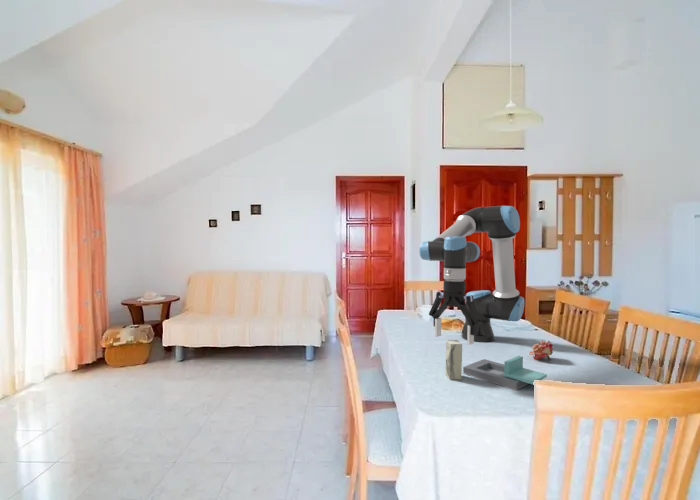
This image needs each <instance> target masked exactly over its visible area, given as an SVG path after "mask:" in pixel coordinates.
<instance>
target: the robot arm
mask: <svg viewBox="0 0 700 500" xmlns="http://www.w3.org/2000/svg"><path fill="white" fill-rule="evenodd" d="M520 228H521V220H520V215H519V212H518V210H517V209H516V207H514V206H512V205H496V206H493V205H492V206H479V207H474V208H472V209H470V210H468V211H465V212H464V213H462V214H461V215H459V216H458V217H457V218H456V220H455V222H454V223H453V224H452V225H451V226H450V227H448V228H447V229H446V230H444V231H443V232H442V233H441V234H440V235H438V236H437V237H435V238H434V239H433V240H428V241H423V242H421V244H420V245H419V249H418V252H419V256H420V258H421V260H425V261H431V262H433V261H435V262H436V261H437V262H443V279H444V280H443V287H442V288H443V291H444V292H443V291H437V292H436V295H435V299H434V301H433V304H432V306H431V308H430V311H429V312H428V315H429V316H430V317H432V318H433V324H432V325H433V327H434V337H437V338H438V337H441V336H442V317H441V316H442V314H443V313H444V312H445V311H446V309H447V308H448V307H455V308H458V309H459V310H460V311H461V313H462V315H463V316H464V318H465V320H464V323H463V324H464V325H463V327H462V330H461V339H464V340H467V341H466V343H467V344H466V345H469V346H470V345H474V342H478V343H479V342H480V343H481V342H482V343H483V342H486V343H487V342H491V341H493V340H495V334H494V330H493V327H492V325H491V320H497V321H498V320H499V321H508V322H519V321H520V320H521V319H522V316H523V314H524V310H525V309H524V308H525V298H524V297H523V296H520V291H519V290H518V289H517V288H516V276H515V262H514V261H515V260H514V243H513V239H514V238H515V237H516V236H517V234H516V233H518V232H519V231H520ZM474 233H487V238H488V239H490V240H491V244H492V245H491V247H492V258H493V259H492V260H493V268H494V269H493V273H494V282H495V285H494V286H495V289H494V290H493V291H492V292H491V290H485V289H483V290H482V289H481V290H471V291H469V292H467V293H466V289H467V288H466V287H467V286H466V284H467V283H466V278H467V273H466V272H467V271H466V270H467V266H466V265H467V263H472V262H474V261H477V260H478V259H479V257H480V254H481V249H480V246H479V245H478V244H477V243H476V242H473V241H467V238H466V237H467V236H471V235H472V234H474ZM443 299H444V300H443Z"/></svg>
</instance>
